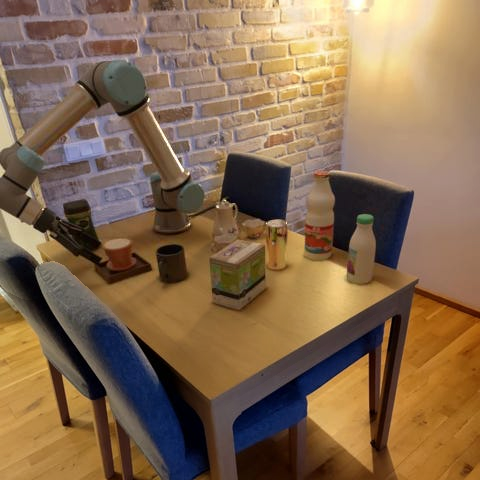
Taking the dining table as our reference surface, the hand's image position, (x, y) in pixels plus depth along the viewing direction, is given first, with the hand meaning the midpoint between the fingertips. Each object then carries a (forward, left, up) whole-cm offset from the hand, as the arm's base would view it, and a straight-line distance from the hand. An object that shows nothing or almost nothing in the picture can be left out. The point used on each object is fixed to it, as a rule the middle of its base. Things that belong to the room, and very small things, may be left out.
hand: (99, 253), depth 144 cm
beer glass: (-47, +35, -8) cm, 59 cm away
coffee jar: (-3, -26, -8) cm, 27 cm away
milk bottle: (-60, +59, -8) cm, 85 cm away
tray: (-6, +2, -7) cm, 10 cm away
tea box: (-26, +43, -8) cm, 51 cm away
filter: (-6, +2, -7) cm, 9 cm away
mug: (-16, +19, -7) cm, 26 cm away
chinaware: (-48, +8, -8) cm, 49 cm away
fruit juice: (-63, +38, -8) cm, 74 cm away
